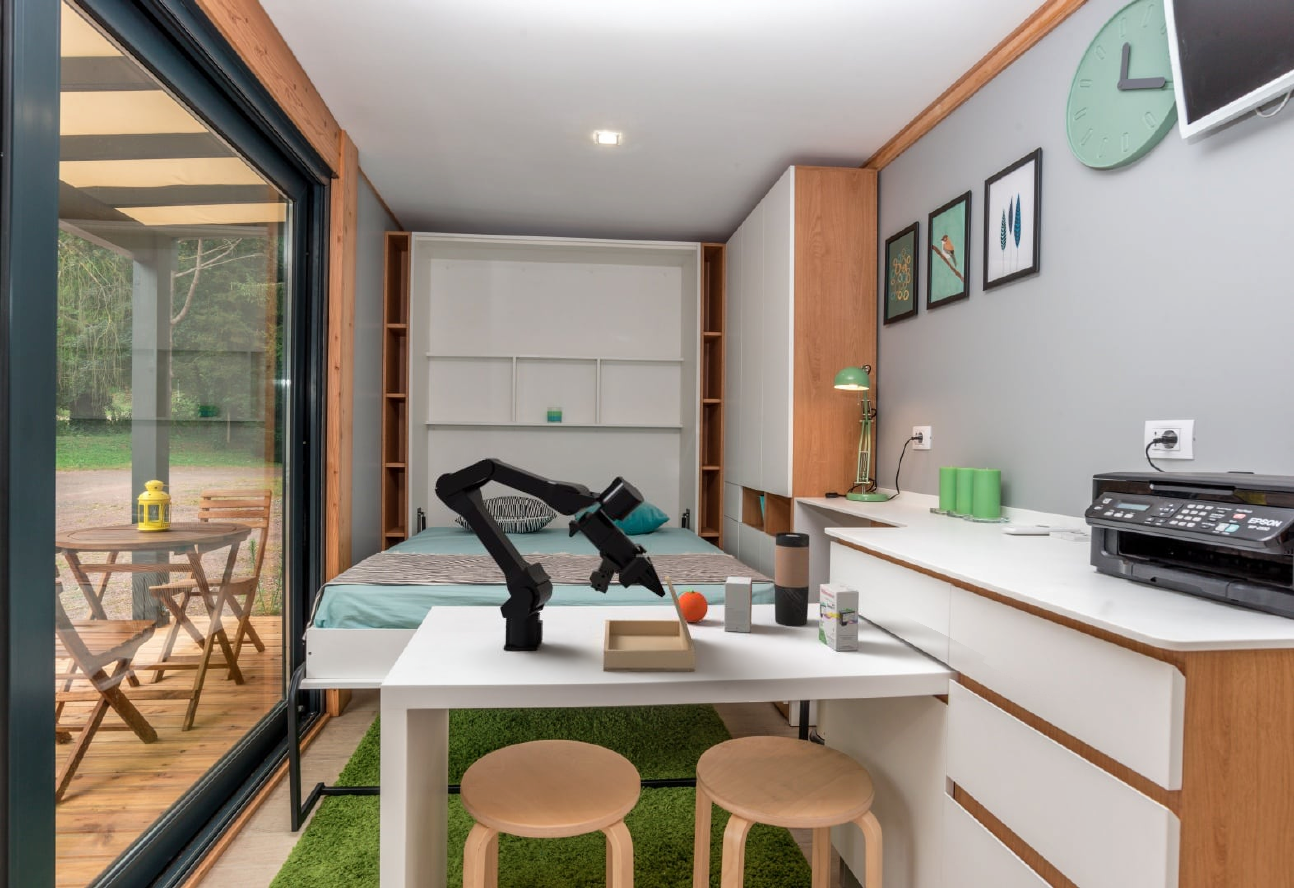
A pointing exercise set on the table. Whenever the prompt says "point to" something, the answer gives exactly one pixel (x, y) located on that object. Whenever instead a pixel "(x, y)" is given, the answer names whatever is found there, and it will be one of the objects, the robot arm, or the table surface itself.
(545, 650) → the table surface
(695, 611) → the clementine
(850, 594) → the ink box
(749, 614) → the small box
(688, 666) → the carton
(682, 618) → the carton flap
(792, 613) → the travel mug
